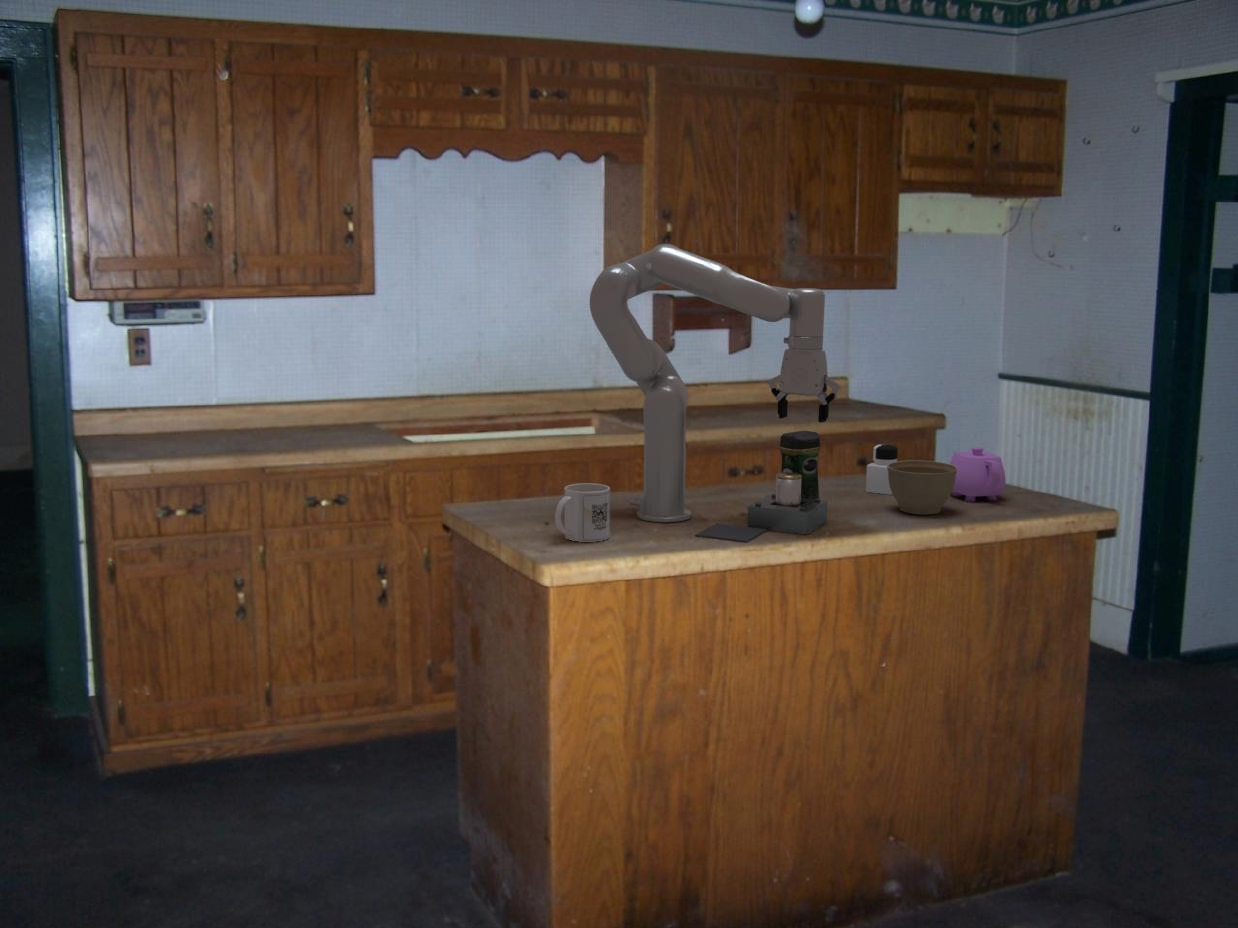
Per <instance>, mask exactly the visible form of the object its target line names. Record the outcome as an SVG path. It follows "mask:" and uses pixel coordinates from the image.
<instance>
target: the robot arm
mask: <svg viewBox="0 0 1238 928" xmlns="http://www.w3.org/2000/svg"><path fill="white" fill-rule="evenodd" d="M663 285H666V286H669V287H671V288H672V287H673V288H675V289H679V290H681V291H683V292H687V293H689V294H692V295H694V296H697V297H699V298H702V299H704V300H707V301H709V302H712V303H714V304H719V305H722V306H725V307H727V308H730V309H733V310H735V311H738V312H741V313H743V314H746V315H749V316H751V317H754V318H756V319H759V320H762V321H765V322H768V323H776V322H779V321H782V320H783V319H789V333H788V334H789V335H788V337H783V343H784V344H787V347H788V348H786V349H784V352H783V357H782V362H781V367H780V373H779V374H778V375H777V376H774V377H772V378H770V379H768V380H767V384H768V385H769V389H770V390H771V391H770V392H771V393H772V395H773V396H774V397H775V400H776V401H777V414H778V419H784V418H787V417H788V409H789V408H788V404H789V401H788V399H787V398H788V396H789V395H796V396H807V397H808V396H810V397H816V398H817V399H818V400H819V402H820V404H819V405H818V418H817V419H818V420H817V421H818V423H825V422H827V419H828V418H829V412H830V411H829V408H830V404H831V403H832V402H833V401H834V400H835V399H836V398H837V396H838V394H839V393H840V391H841V389H842V385H840V383H838V382H836V381H835V380H833V379H831V378H830V377H828V374H829V372H828V362H827V355H826V350H824V349H823V345H824V327H825V326H824V324H825V323H824V321H825V304H826V295H825V292H824V290H822V289H820V288H815V287H814V288H813V287H812V288H811V287H810V288H807V287H801V288H800V287H799V288H788V287H781V286H775V285H768V284H766V283H763V282H760V281H757V280H755V279H751V278H750V277H748V276H745V275H742V274H740V273H738V272H736V271H734V270H733V269H731V268H729V267H728V266H726V265H724V264H722V263H720V262H717V261H715V260H712V259H708V258H706V257H703V256H700V255H698V254H695V253H692V252H690V251H686V250H684V249H681V248H679V247H678V246H676V245H674V244H671V243H662V244H658V245H656V246H654V247H653V248H652V249H650V250H648V251H646V252H644V253H642V254H639V255H636V256H634V257H631V258H629V259H627V260H624V261H623V262H620V263H616V264H613V265H610V266H607V267H605V268H604V269H603V270H602V271H601V272H600V274H598V276H597V278H596V279H595V281H594V283H593V286H592V287H591V291H590V294H589V311H590V315H591V317H592V320H593V322H594V325H595V327H596V328H597V329H598V331H599V333H600V335H601V336H602V339H603V340H604V341H605V343H606V345H607V347H608V348H609V350H610V351H611V354H612V355H613V357H614V358H615V360H616V361H617V363H618V365H619V367H620V369H621V370H622V372H623V373H624V375H625V376H626V378H628V379H629V380H631V381H633V382H636V384H637V386H638V388H639V389H640V390H641V393H642V394H643V395H644V400H643V432H644V433H643V436H644V437H643V438H644V442H643V446H644V447H643V448H644V449H643V452H644V453H643V454H644V455H643V457H644V458H643V460H644V461H643V472H644V473H643V496H641V497H640V496H638V495H637V496H636V495H630V496H629V500H628V501H629V505H630V506H634V507H635V506H637V507H638V508H639V509H638V510H637V512H636V516H637V518H639V519H640V520H643V521H646V522H654V523H677V522H684V521H687V520H690V519H691V518H692V512H691V510H689V509H687V508H685V507H686V455H687V450H686V443H687V440H686V439H687V437H686V436H687V434H686V433H687V430H686V429H687V427H686V426H687V423H686V421H687V420H686V418H687V416H686V415H687V406H688V405H689V398H690V397H689V396H690V395H689V390H688V388H687V385H686V384H685V382H684V381H683V379H682V378H681V376H680V375H679V372H678V371H677V370H676V368H675V367H674V364H673V363H672V362H671V360H670V359H669V357H668V356H667V354H666V352H665V350H663V347H662V346H660V344H659V343H657V342H656V341H655V340H653V339H651V338H648V337H647V335H646V334H645V333H644V331H643V330H642V328H641V326H640V324H639V323H638V321H637V320H636V318H635V317H634V315H633V313H632V312H631V311H630V308H629V305H628V302H629V300H630V299H632V298H634V297H637V296H640V295H642V294H644V293H647V292H649V291H651V290H655V289H656V288H659V287H661V286H663ZM777 383H779V385H777ZM778 386H779V387H778ZM828 387H830V388H831V392H830V393H829V394H828V393H827V391H828Z"/></svg>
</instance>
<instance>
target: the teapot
mask: <svg viewBox="0 0 1238 928" xmlns="http://www.w3.org/2000/svg"><path fill="white" fill-rule="evenodd" d="M950 459H951V460H950V462H949V464H951V465H953V466H955V467H957V473H956V478H955V484H954V487H953V490H952V492H953V493H952V494H951V496H952V497H963V496H965V498H964V501H965V502H976V497H986V499H987V500H988V499H989V500H988V501H998V500H997V499H998V498H997V496H1001V495H1003V493H1004V491H1005V490H1006V473H1005V469H1004V465H1003V464H1004V463H1003V461H1002V458H1001V456H999V455H997V454H993V453H991V452H988V451H984V448H983V447H980V446H974V447H971V451H969V450H968V451H953V455H952V457H951V458H950Z"/></svg>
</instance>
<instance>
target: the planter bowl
mask: <svg viewBox="0 0 1238 928" xmlns="http://www.w3.org/2000/svg"><path fill="white" fill-rule="evenodd" d="M887 469H888V480H889V485H890V489H891V491H892V494H893V495H892V496H893V497H894V499H895V500H896V502H897V503H898V506H899V510H900V511H901V512H903V513H907V514H913V515H921V516H924V515H925V516H926V515H936V514H939V513H940V512H941V511H942V508H943V506H944V504H945V503H946V502H947V501H948V499H949V498H950V496H951V495H952V492H953V491H952V490H953V487H954V484H955V478H956V473H957V467H955V466H953V465H951V464H950V463H945V462H941V461H932V460H915V459H914V460H899V461H898V460H897V462H893V463H890V464H888V465H887Z"/></svg>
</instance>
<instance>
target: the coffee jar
mask: <svg viewBox="0 0 1238 928" xmlns="http://www.w3.org/2000/svg"><path fill="white" fill-rule="evenodd" d="M779 451H780V455H781V472H780V473H784V472H790V473H798V474H801V498H806V499H815V498H819V499H820V489H819V487H820V486H819V464H818V463H819V455H820V451H821V438H820V435H819V433H818V432H816V431H810V430H800V431H792V432H785V433H782V434H781V436H780V441H779Z"/></svg>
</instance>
